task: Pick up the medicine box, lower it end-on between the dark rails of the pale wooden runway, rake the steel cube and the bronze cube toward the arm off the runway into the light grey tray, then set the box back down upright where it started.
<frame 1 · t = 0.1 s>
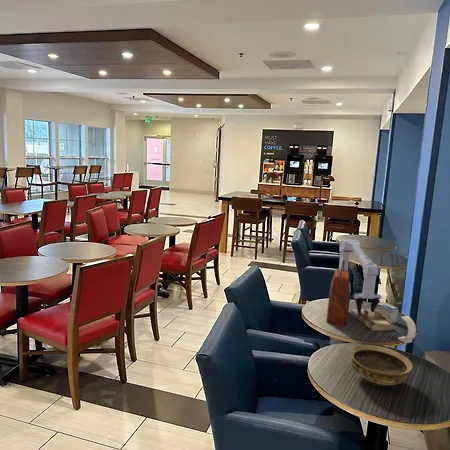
hand: (365, 311, 214), 10 cm above the table, tool pointing down, fingers open, 7 cm apart
sweep station: (366, 318, 233), on the table
bronze cube: (376, 317, 227), point 3 cm above the table, touching sweep station
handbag: (336, 319, 229), on the table
medicine box: (388, 320, 232), on the table
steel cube: (368, 317, 226), point 3 cm above the table, touching sweep station
ceramic bowl: (376, 381, 165), on the table
headphone stand: (405, 341, 206), on the table
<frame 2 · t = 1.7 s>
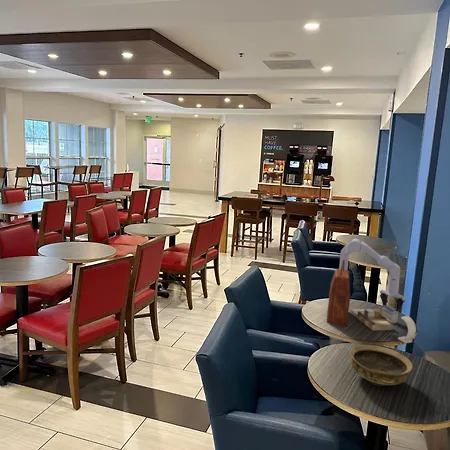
hand: (391, 308, 231), 7 cm above the table, tool pointing down, fingers closed on medicine box, 7 cm apart
medicine box: (388, 322, 232), on the table, touching gripper
everything else where it was.
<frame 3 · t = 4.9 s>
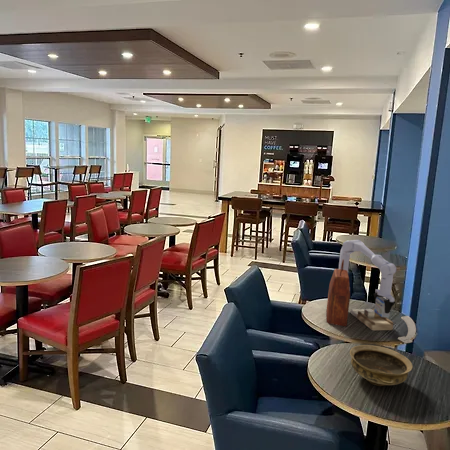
hand: (382, 310, 218), 10 cm above the table, tool pointing down, fingers closed on medicine box, 7 cm apart
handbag: (335, 319, 229), on the table, touching arm
medicine box: (381, 314, 218), point 8 cm above the table, touching gripper
everything else where it was.
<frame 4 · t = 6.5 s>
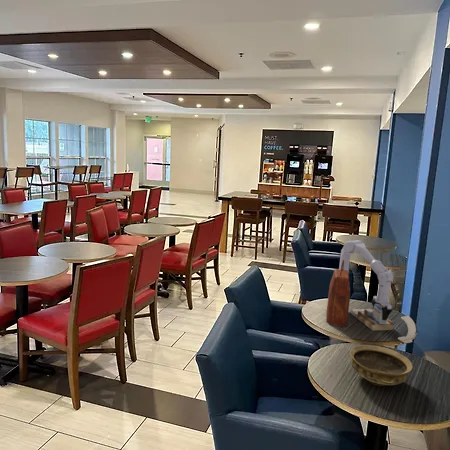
hand: (380, 316, 220), 6 cm above the table, tool pointing down, fingers closed on medicine box, 7 cm apart
bronze cube: (376, 317, 227), point 3 cm above the table, touching gripper, sweep station
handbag: (335, 319, 228), on the table
medicine box: (379, 321, 220), point 3 cm above the table, touching gripper
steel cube: (368, 317, 226), point 3 cm above the table, touching gripper, sweep station
everything else where it was.
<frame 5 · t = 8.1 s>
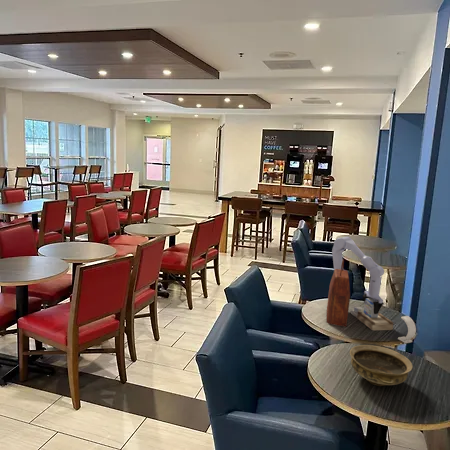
hand: (371, 310, 228), 6 cm above the table, tool pointing down, fingers closed on medicine box, 7 cm apart
bronze cube: (370, 313, 234), point 2 cm above the table, tilted 90°, touching sweep station
medicine box: (370, 315, 229), point 3 cm above the table, touching gripper
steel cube: (360, 312, 234), point 2 cm above the table, tilted 90°, touching sweep station
everything else where it was.
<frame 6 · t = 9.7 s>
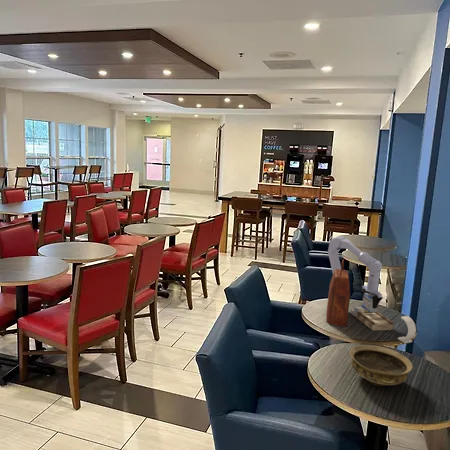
hand: (369, 305, 230), 8 cm above the table, tool pointing down, fingers closed on medicine box, 7 cm apart
medicine box: (368, 309, 230), point 6 cm above the table, touching gripper
everything else where it was.
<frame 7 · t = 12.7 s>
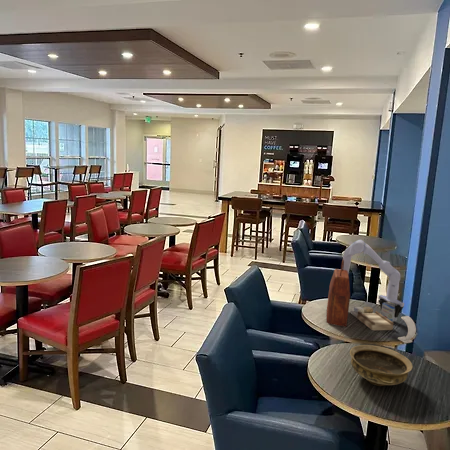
hand: (389, 314, 232), 3 cm above the table, tool pointing down, fingers closed on medicine box, 7 cm apart
medicine box: (388, 319, 232), point 1 cm above the table, touching gripper
everything else where it was.
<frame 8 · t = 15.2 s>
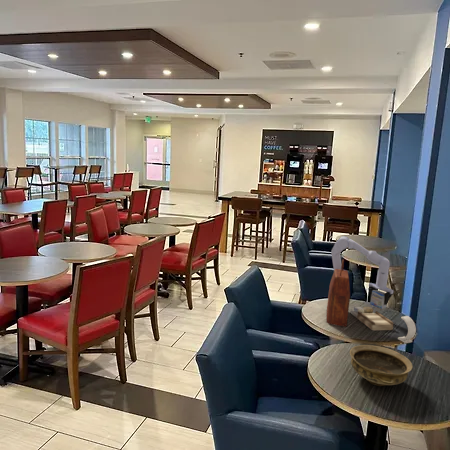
hand: (378, 302, 233), 9 cm above the table, tool pointing down, fingers closed on medicine box, 7 cm apart
medicine box: (377, 306, 234), point 7 cm above the table, touching gripper
everything else where it was.
at the end: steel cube inside the target area (3.3 cm from its centre), point 2.5 cm above the table; bronze cube inside the target area (3.3 cm from its centre), point 2.5 cm above the table; medicine box tilted 0° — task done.
